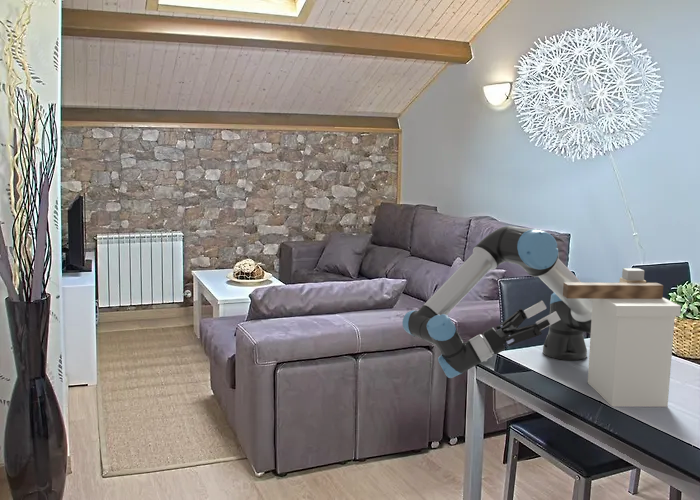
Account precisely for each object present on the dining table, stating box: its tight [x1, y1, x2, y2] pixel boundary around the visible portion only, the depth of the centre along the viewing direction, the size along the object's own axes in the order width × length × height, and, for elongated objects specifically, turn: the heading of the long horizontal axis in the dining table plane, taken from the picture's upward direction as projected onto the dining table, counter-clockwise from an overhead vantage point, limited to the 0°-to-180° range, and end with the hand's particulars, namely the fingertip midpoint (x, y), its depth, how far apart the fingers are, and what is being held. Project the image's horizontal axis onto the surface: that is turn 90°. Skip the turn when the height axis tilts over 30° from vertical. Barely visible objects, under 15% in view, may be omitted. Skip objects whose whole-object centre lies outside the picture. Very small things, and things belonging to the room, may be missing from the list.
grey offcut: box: [621, 267, 645, 280], centre depth 207 cm, size 5×4×3 cm
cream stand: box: [587, 297, 682, 408], centre depth 203 cm, size 18×22×30 cm
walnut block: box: [563, 281, 664, 299], centre depth 200 cm, size 28×4×4 cm, turn 90°
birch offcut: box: [618, 277, 647, 283], centre depth 208 cm, size 6×5×4 cm
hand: (551, 309), depth 201 cm, fingers open, 13 cm apart
